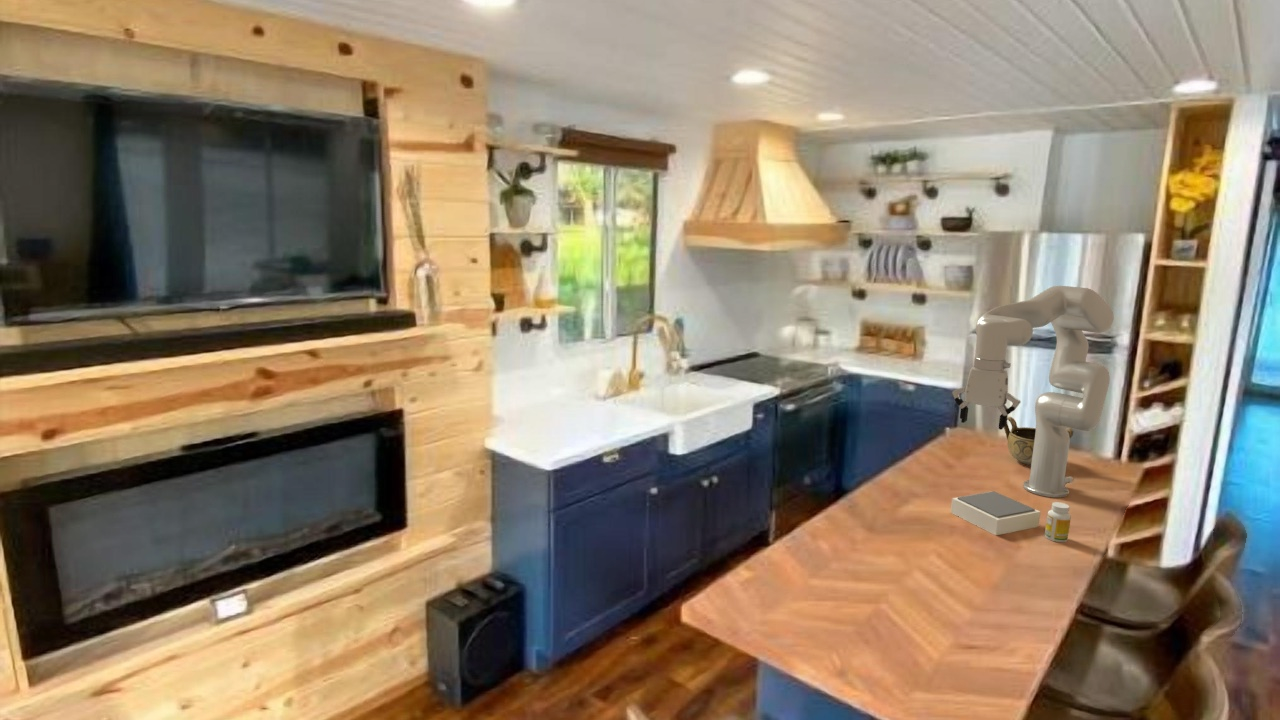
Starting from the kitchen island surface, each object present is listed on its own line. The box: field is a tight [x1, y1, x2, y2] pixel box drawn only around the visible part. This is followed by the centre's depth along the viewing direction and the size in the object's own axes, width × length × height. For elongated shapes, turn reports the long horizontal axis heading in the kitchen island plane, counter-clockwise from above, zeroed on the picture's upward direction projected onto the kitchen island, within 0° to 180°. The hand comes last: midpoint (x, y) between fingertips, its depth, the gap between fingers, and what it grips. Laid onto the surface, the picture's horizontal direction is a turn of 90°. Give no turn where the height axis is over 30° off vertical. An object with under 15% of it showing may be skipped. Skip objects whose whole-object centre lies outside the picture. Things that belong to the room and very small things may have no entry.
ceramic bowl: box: [1003, 416, 1074, 467], centre depth 249 cm, size 22×17×15 cm
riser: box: [950, 490, 1041, 536], centre depth 203 cm, size 16×16×5 cm
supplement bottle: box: [1044, 501, 1072, 543], centre depth 191 cm, size 5×5×10 cm
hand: (982, 425), depth 198 cm, fingers open, 9 cm apart
